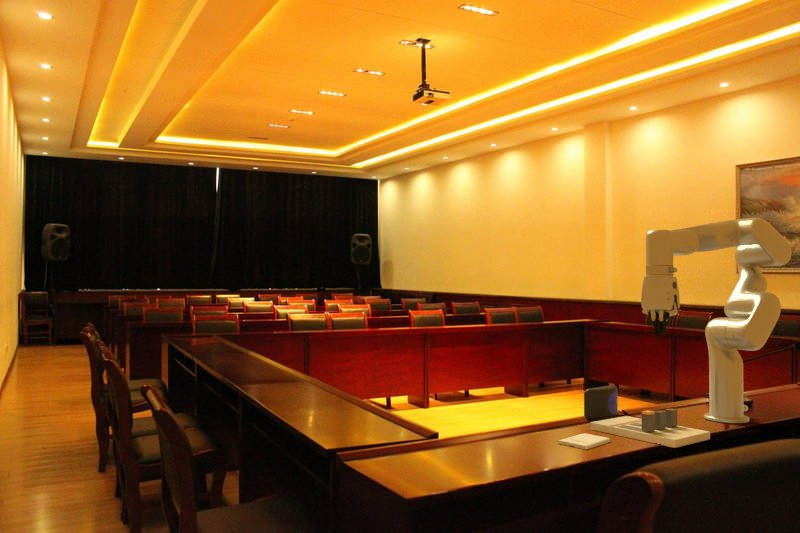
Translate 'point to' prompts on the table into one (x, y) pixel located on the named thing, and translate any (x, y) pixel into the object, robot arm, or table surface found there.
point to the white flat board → (665, 436)
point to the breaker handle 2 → (671, 417)
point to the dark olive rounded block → (601, 402)
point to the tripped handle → (648, 421)
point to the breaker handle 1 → (660, 419)
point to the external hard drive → (584, 441)
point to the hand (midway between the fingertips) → (659, 334)
